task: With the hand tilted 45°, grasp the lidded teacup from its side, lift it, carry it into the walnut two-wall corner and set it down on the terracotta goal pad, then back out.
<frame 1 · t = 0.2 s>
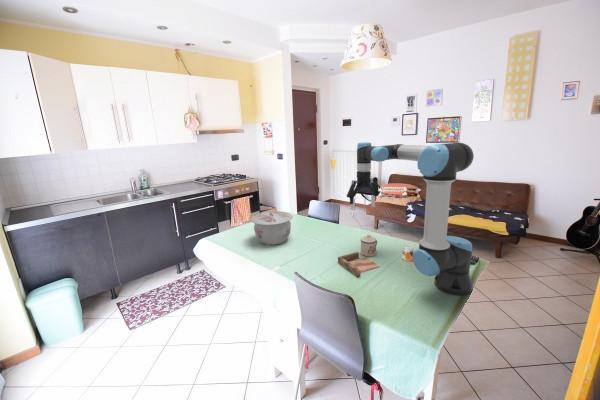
hand: (363, 208, 158), 27 cm above the table, tool pointing down, fingers open, 13 cm apart
chamber pot: (273, 241, 188), on the table
arena: (362, 265, 150), on the table
teacup with lid: (369, 253, 164), on the table
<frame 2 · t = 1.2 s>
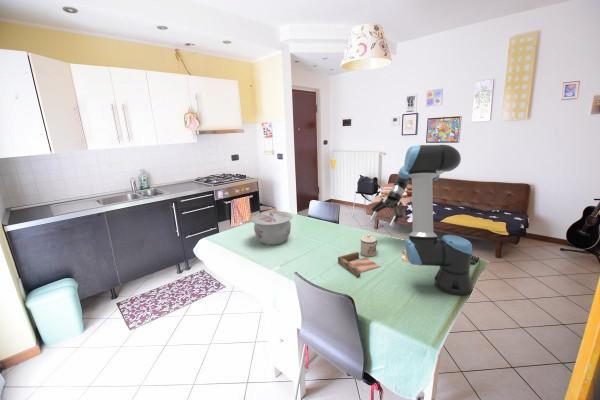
hand: (380, 223, 166), 15 cm above the table, tool tilted 45°, fingers open, 13 cm apart
nothing on the table moved.
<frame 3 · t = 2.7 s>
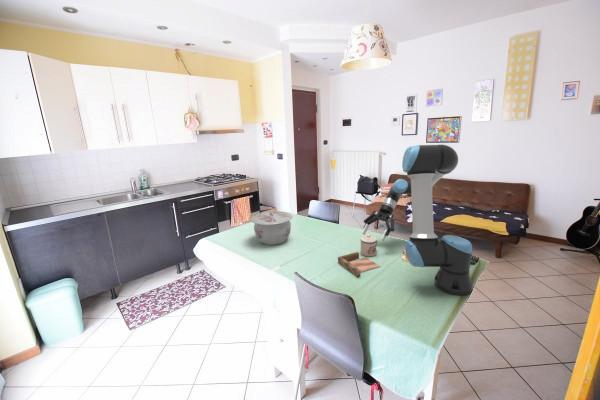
hand: (372, 237, 164), 9 cm above the table, tool tilted 45°, fingers open, 13 cm apart
nothing on the table moved.
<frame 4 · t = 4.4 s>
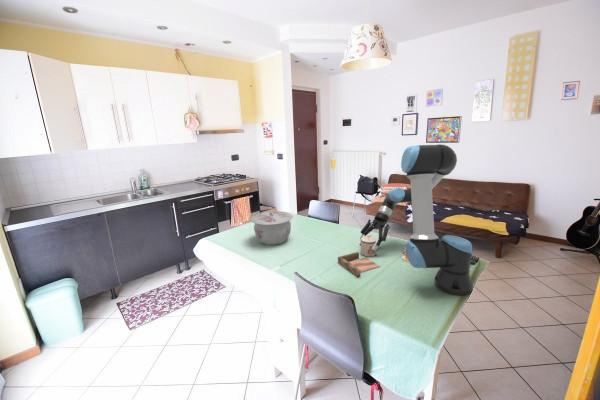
hand: (366, 247, 161), 4 cm above the table, tool tilted 45°, fingers closed on teacup with lid, 9 cm apart
teacup with lid: (370, 253, 164), on the table, touching gripper
everything else where it was.
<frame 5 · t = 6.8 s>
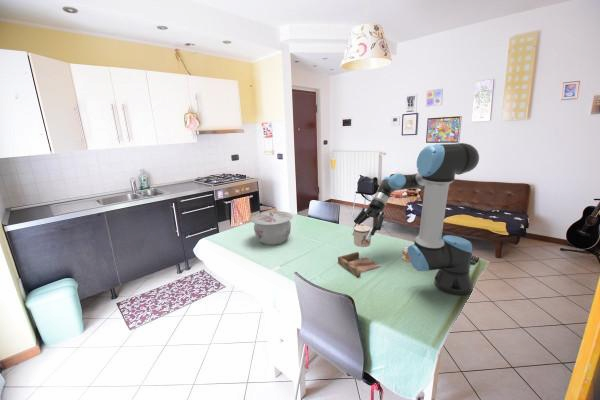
hand: (360, 237, 147), 16 cm above the table, tool tilted 45°, fingers closed on teacup with lid, 9 cm apart
teacup with lid: (364, 243, 150), point 11 cm above the table, touching gripper
everything else where it was.
when the fingers open (6 cm above the table, at t = 9.4 s): teacup with lid drops 1 cm, resting on arena.
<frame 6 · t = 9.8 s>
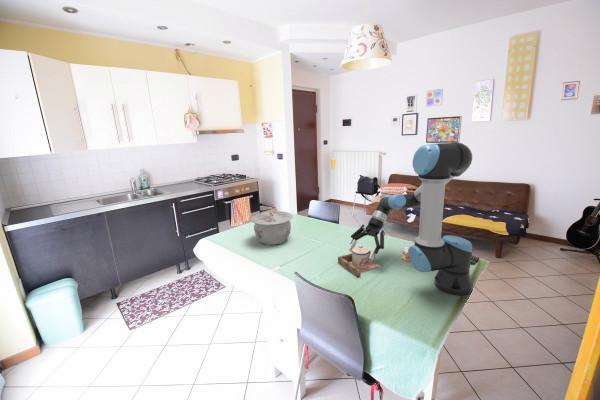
hand: (359, 254, 147), 7 cm above the table, tool tilted 45°, fingers open, 13 cm apart
teacup with lid: (362, 265, 150), resting on arena
everything else where it was.
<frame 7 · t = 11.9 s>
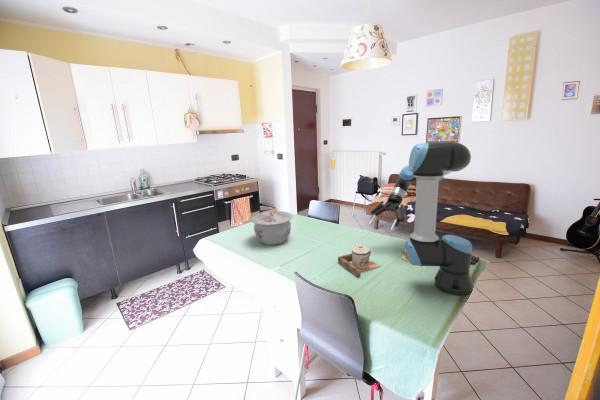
hand: (380, 228, 155), 17 cm above the table, tool tilted 45°, fingers open, 13 cm apart
nothing on the table moved.
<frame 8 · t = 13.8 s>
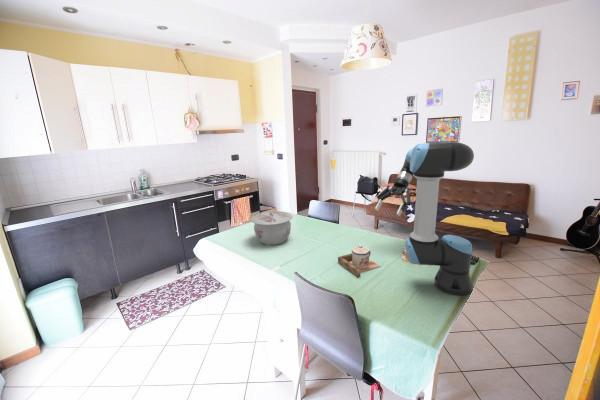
hand: (386, 212, 154), 26 cm above the table, tool tilted 45°, fingers open, 13 cm apart
nothing on the table moved.
at the end: teacup with lid inside the target area on the arena (0.4 cm from its centre), point 0.1 cm above the arena's base; teacup with lid tilted 0°; the gripper is holding nothing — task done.
